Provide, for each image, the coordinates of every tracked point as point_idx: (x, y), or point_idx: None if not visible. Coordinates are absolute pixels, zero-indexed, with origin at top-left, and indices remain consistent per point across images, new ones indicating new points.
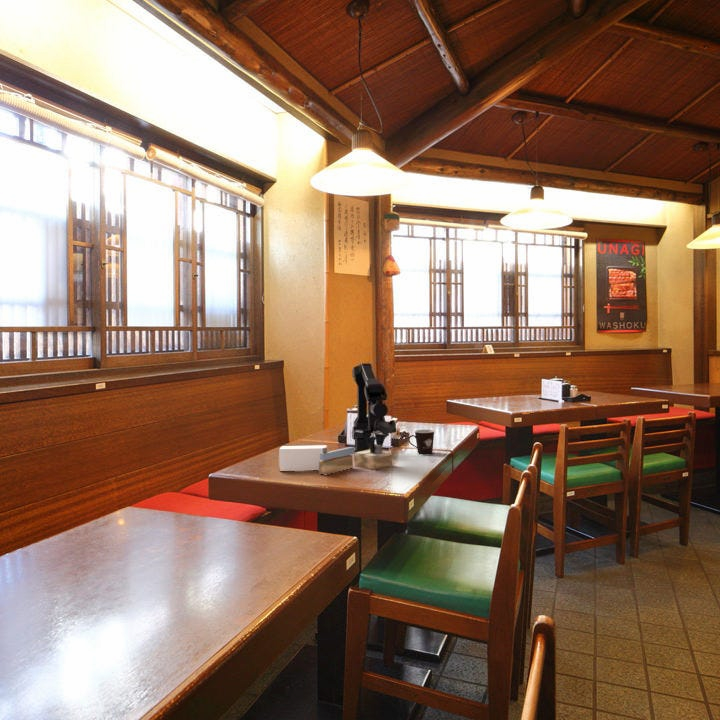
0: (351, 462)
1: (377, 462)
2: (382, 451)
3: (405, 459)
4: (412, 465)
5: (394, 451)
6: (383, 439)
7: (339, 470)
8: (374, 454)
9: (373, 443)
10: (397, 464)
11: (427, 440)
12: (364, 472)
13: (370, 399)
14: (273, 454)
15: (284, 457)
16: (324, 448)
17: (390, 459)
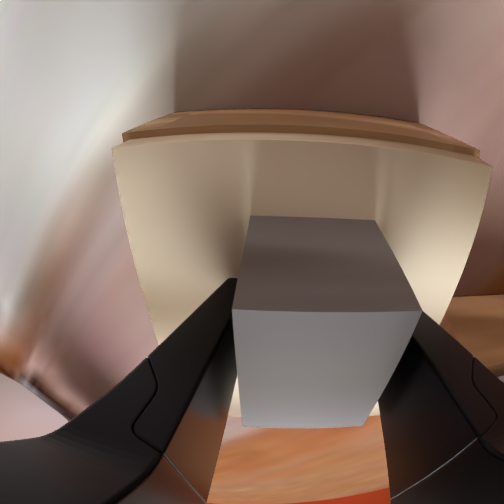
0: (463, 327)
1: (413, 130)
2: (171, 287)
3: (8, 206)
4: (59, 18)
5: (18, 348)
6: (108, 436)
7: None
8: (398, 246)
9: (483, 392)
10: (110, 122)
11: None
12: (496, 159)
13: None
14: (341, 494)
15: None
16: None
17: (176, 120)
